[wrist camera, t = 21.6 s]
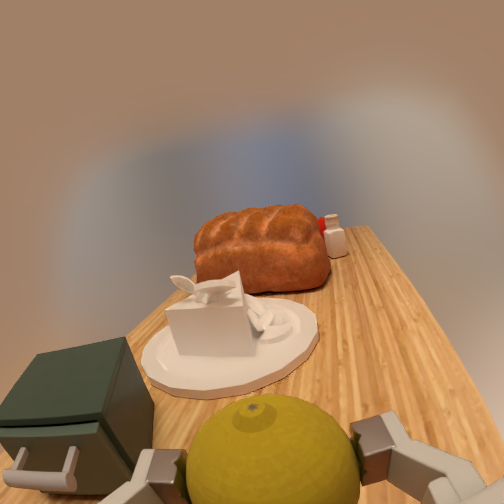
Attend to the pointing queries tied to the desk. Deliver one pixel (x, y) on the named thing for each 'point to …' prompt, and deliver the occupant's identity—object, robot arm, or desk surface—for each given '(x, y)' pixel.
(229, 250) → the bread
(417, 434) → the desk surface
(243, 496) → the lemon
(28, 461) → the drawer
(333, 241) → the pepper shaker
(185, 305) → the dish
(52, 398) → the cabinet
